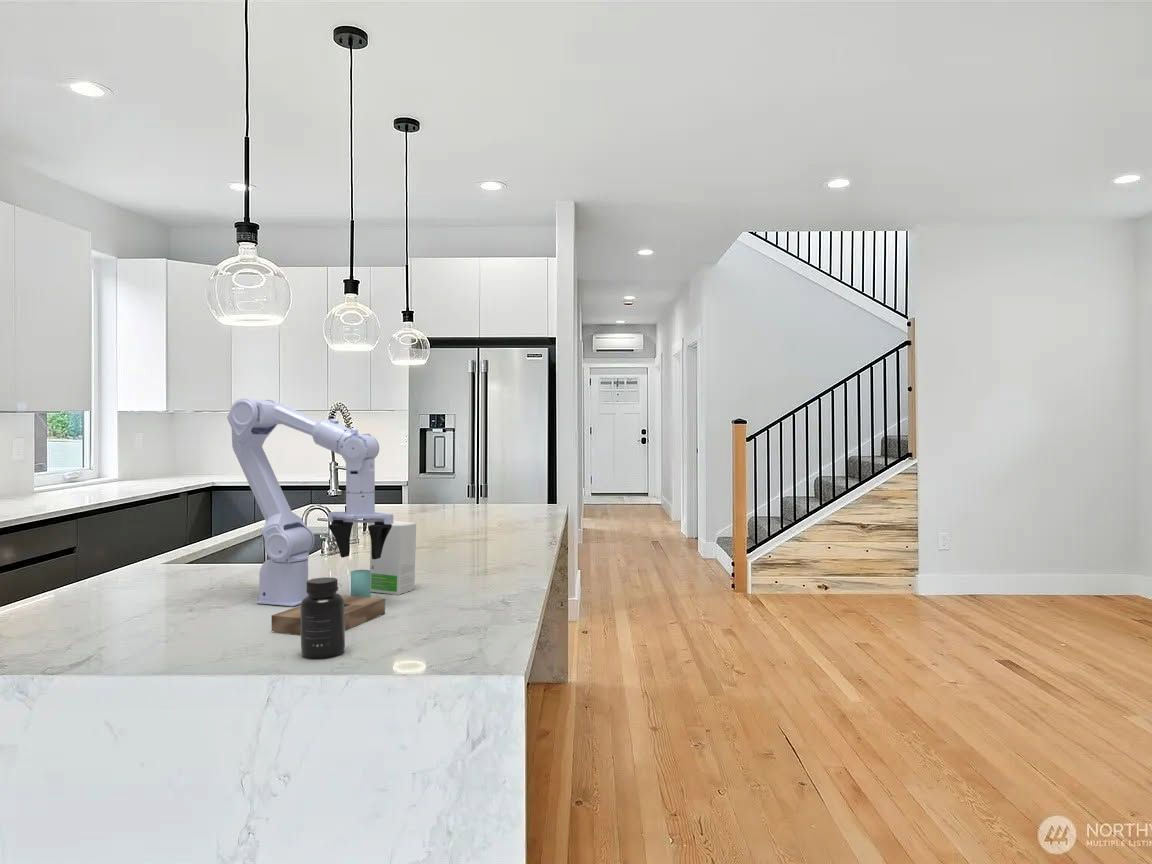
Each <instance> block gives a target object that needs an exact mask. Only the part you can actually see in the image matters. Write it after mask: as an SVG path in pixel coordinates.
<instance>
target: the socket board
mask: <svg viewBox="0 0 1152 864" xmlns="http://www.w3.org/2000/svg"><path fill="white" fill-rule="evenodd" d="M339 595H340V596H342V598H343V599H344V617H345V631H347V630H350V629H352V628H354V626H355V627H357V626H359V625H362V624H364V623H366V621H367V622H368V620H369V621H371V620H374V619H375V617H376V618H378V617H380V616H379V615H381V616H382V614H383V615H385V614H386V599H385V598H382V597H380V598H379V597H371V598H370V597H357V596H351V595H342V594H339ZM384 613H385V614H384ZM377 616H378V617H377ZM373 618H374V619H373ZM370 619H371V620H370ZM363 622H364V623H363ZM361 623H362V624H361ZM272 631H274V632H273V633H275V632H282V633H281V634H285V633H290V634H289V635H295V634H297V635H298V636H301V615H300V605H299V606H298V605H297V606H296V607H295V606H294V607H293V608H290V609H287V610H284V611H281V612H277V613H275V614H272V615H271V632H272Z"/></svg>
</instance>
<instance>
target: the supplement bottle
mask: <svg viewBox="0 0 1152 864" xmlns="http://www.w3.org/2000/svg"><path fill="white" fill-rule="evenodd" d="M338 584H339V583H338V579H337V578H336V577H328V576H327V577H325V576H324V577H317V578H311V579H308V581H307V589H306V593H308V596H307V597H305V598H304V599H303V600H302V602H301V604H299V606H300V615H301V635H300V651H301V655H302V656H303V657H304V658H306V659H312V660H319V659H320V660H322V659H329V658H334V657H336V656H339V655H341V654H343V652H344V650H345V649H346V634H345V633H346V630H345V617H344V599H343V598H342V596H340V595H341V594H338V593H337V592H338V591H339V586H338Z"/></svg>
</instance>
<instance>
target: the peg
mask: <svg viewBox="0 0 1152 864" xmlns="http://www.w3.org/2000/svg"><path fill="white" fill-rule="evenodd" d="M371 593H372V592H371V571H370V569H355V570H351V571H350V596H357V597H370V598H372V597H371V596H372V595H371Z"/></svg>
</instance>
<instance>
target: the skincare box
mask: <svg viewBox="0 0 1152 864" xmlns="http://www.w3.org/2000/svg"><path fill="white" fill-rule="evenodd" d="M370 525H374V523H370ZM416 537H417V523H416V522H411V521H402V520H393V524H392V528H391V529H390V531H389V533H388V535H387V537H386V540H385V542H384V545H383V549H382V553H381V558H379V559H372V551H371V550H370V551H369V552H370V557H369V563H370V564H369V570H370V571H371V593H378V594H386V595H387V594H388V595H395V596H400V594H401V595H403V594H406V593H409V592H411V591H414V590H415V581H416V580H415V579H416V577H415V576H416V545H417V544H416V542H417V539H416ZM408 591H409V592H408ZM402 593H403V594H402Z"/></svg>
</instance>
